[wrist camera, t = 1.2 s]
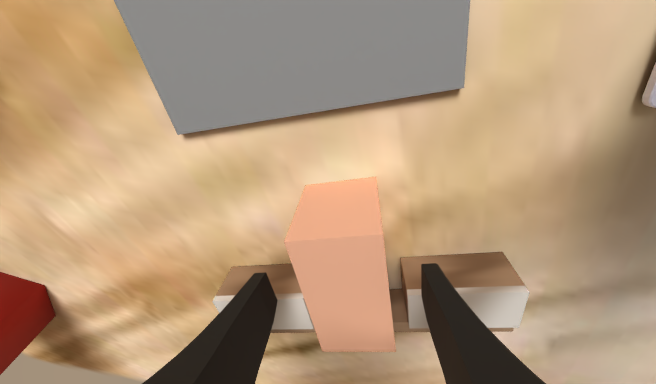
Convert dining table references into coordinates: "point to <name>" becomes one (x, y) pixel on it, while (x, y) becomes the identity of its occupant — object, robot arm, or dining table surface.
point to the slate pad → (293, 54)
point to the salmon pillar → (343, 265)
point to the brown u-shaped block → (403, 292)
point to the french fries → (21, 315)
